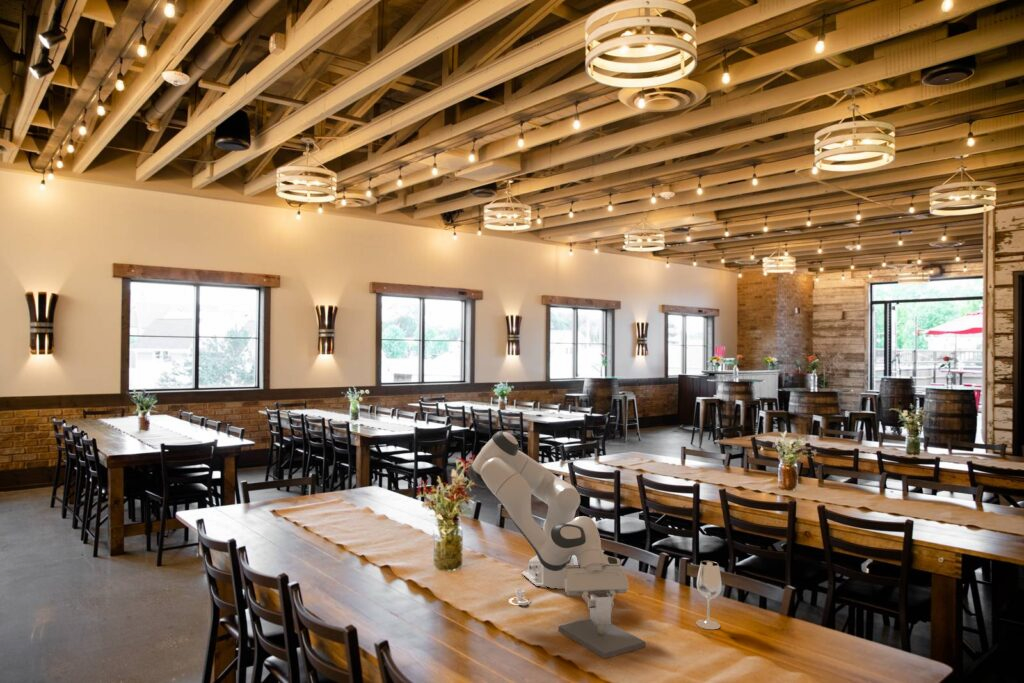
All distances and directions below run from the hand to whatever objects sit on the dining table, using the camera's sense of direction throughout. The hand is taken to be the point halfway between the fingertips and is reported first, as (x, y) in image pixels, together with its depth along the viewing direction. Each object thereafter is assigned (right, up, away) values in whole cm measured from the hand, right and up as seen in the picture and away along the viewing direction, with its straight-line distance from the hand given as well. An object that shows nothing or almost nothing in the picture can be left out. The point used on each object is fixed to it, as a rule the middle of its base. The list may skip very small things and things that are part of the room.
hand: (601, 606), depth 205 cm
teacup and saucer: (-27, -10, +27) cm, 40 cm away
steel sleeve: (0, -4, 0) cm, 4 cm away
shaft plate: (0, -10, +1) cm, 10 cm away
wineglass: (+37, -11, +14) cm, 41 cm away
